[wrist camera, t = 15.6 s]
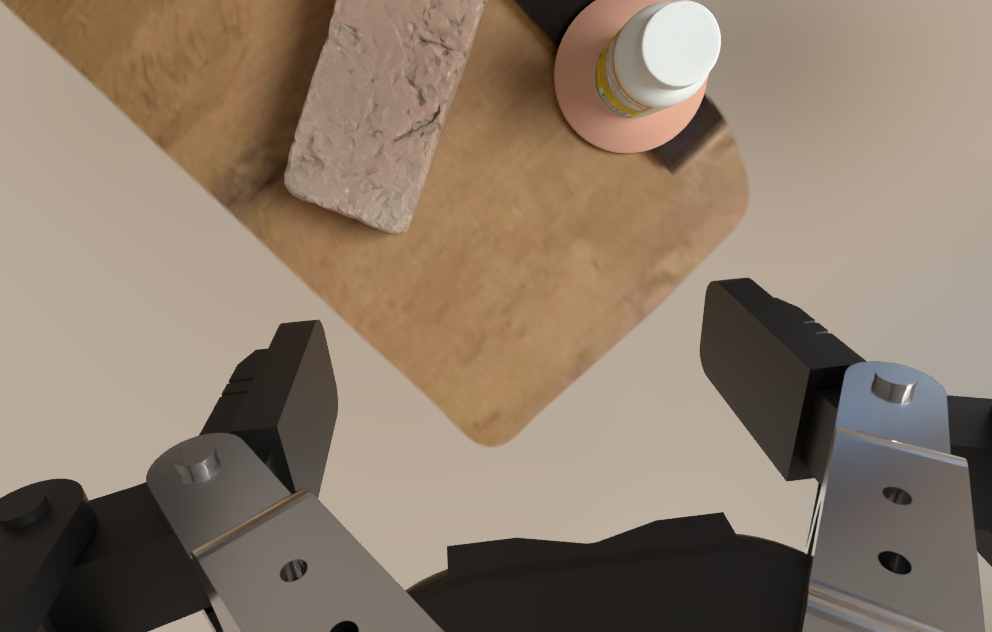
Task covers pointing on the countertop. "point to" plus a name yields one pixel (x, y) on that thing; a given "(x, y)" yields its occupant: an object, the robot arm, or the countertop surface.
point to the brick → (380, 106)
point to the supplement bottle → (657, 58)
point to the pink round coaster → (580, 95)
